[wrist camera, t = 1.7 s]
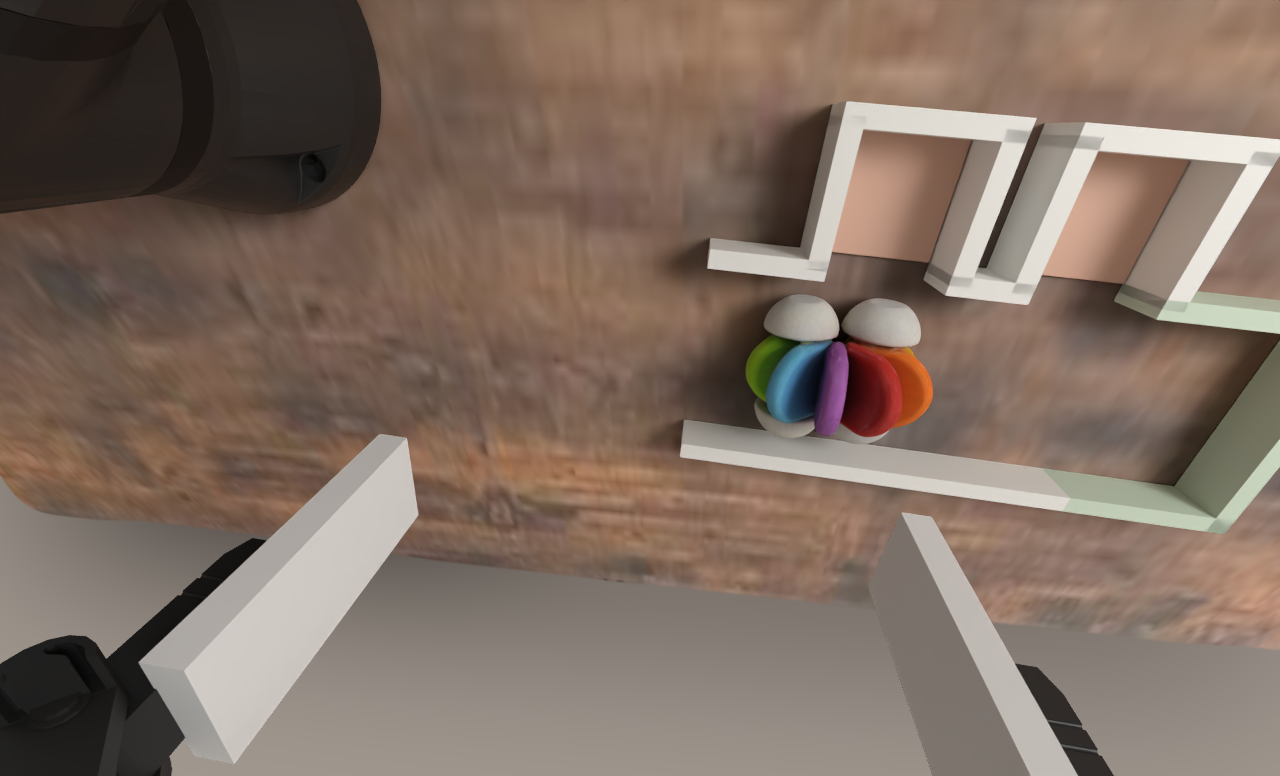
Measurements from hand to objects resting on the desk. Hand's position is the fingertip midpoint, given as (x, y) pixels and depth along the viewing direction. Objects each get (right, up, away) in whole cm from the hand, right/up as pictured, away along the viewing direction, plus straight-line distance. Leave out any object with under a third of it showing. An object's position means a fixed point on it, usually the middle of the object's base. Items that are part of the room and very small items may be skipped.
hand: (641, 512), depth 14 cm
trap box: (+19, +7, +15) cm, 26 cm away
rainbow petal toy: (+11, +5, +18) cm, 22 cm away
